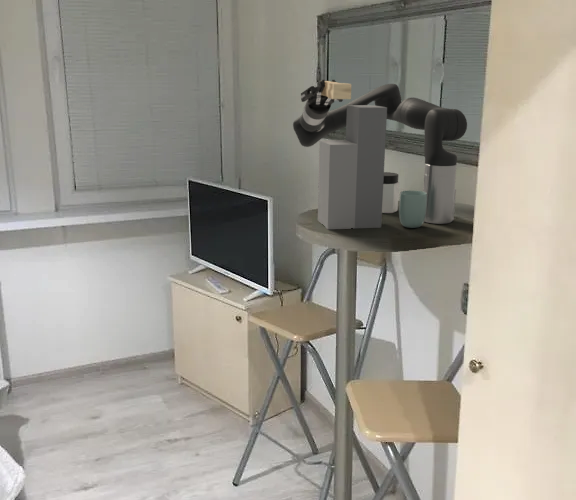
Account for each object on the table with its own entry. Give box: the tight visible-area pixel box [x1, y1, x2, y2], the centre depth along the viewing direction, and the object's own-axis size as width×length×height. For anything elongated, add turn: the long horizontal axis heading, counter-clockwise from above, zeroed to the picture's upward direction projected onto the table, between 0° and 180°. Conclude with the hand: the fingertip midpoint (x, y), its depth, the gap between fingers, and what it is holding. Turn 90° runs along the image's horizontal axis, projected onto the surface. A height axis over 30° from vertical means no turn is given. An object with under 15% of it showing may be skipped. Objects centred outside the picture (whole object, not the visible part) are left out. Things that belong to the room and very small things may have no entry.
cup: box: [398, 190, 427, 229], centre depth 189 cm, size 8×8×10 cm
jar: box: [382, 171, 400, 214], centre depth 210 cm, size 9×8×12 cm
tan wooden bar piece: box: [321, 80, 352, 100], centre depth 187 cm, size 21×5×4 cm, turn 11°
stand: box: [317, 104, 388, 230], centre depth 188 cm, size 12×16×34 cm
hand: (328, 82), depth 191 cm, fingers closed on tan wooden bar piece, 2 cm apart
